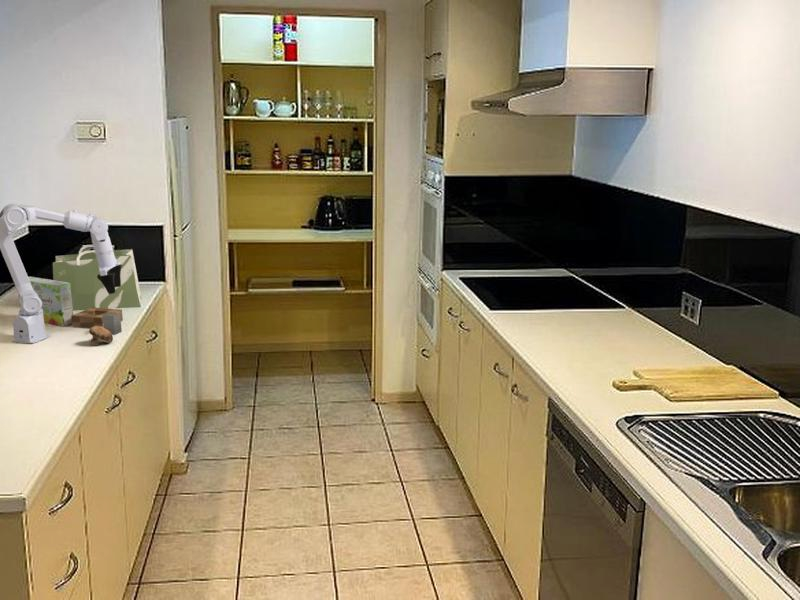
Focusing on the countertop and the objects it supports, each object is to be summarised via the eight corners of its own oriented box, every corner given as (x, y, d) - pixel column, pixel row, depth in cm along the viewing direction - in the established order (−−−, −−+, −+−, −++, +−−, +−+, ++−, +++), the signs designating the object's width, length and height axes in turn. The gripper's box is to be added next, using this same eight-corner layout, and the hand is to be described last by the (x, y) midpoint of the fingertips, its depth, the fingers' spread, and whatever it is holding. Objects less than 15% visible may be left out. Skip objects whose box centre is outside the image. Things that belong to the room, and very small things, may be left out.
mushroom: (81, 338, 260) (91, 321, 262) (84, 341, 268) (94, 324, 270) (105, 349, 262) (115, 332, 263) (107, 352, 269) (117, 335, 271)
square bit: (114, 335, 276) (113, 316, 275) (104, 334, 277) (102, 315, 276) (121, 331, 280) (120, 313, 278) (111, 331, 281) (109, 312, 279)
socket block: (102, 329, 283) (101, 318, 282) (72, 326, 286) (71, 315, 285) (122, 320, 294) (121, 309, 293) (93, 318, 297) (92, 307, 296)
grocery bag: (50, 312, 305) (44, 250, 300) (56, 303, 318) (50, 244, 313) (140, 307, 313) (136, 247, 307) (142, 299, 326) (138, 241, 320)
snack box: (21, 319, 295) (16, 278, 291) (34, 316, 300) (30, 275, 296) (62, 327, 285) (58, 284, 282) (75, 323, 290) (71, 281, 287)
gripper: (110, 255, 270) (121, 294, 274) (121, 244, 284) (131, 281, 288) (89, 259, 270) (100, 297, 274) (100, 248, 284) (111, 285, 288)
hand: (114, 289), depth 281 cm, fingers open, 7 cm apart
